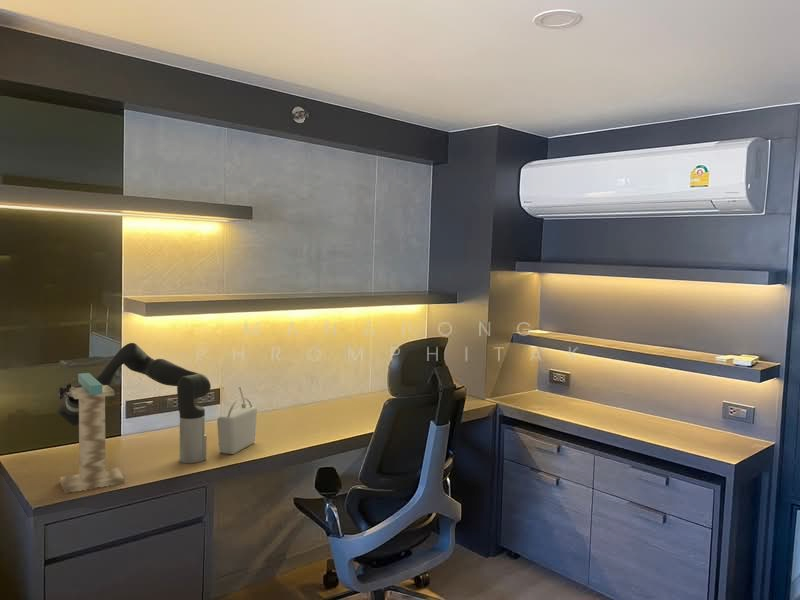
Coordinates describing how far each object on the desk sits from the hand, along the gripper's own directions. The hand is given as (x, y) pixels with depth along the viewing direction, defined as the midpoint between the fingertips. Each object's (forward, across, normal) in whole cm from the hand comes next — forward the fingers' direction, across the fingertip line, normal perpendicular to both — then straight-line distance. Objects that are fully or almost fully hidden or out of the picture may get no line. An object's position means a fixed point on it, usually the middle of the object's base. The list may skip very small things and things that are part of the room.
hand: (83, 384), depth 220 cm
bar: (+13, 0, +6) cm, 14 cm away
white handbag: (-11, +56, +30) cm, 64 cm away
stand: (0, 0, +36) cm, 36 cm away
